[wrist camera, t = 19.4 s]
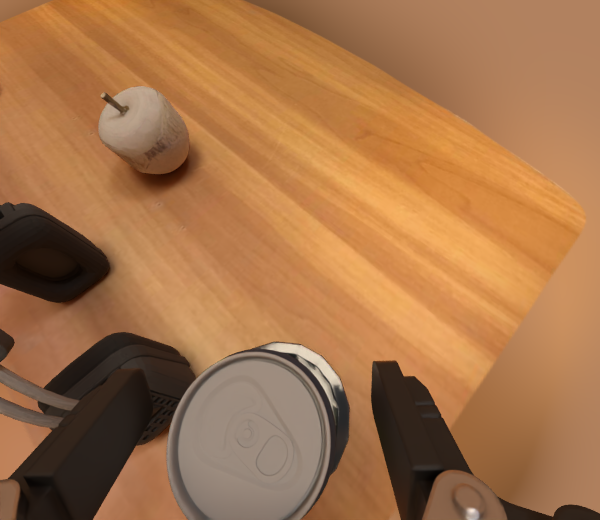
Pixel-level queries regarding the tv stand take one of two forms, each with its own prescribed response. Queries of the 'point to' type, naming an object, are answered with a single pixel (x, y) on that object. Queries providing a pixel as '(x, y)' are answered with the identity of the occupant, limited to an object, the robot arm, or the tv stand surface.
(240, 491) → the beverage can
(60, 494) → the robot arm
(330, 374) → the holder
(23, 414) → the headphones
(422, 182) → the tv stand surface
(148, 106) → the decorative object
